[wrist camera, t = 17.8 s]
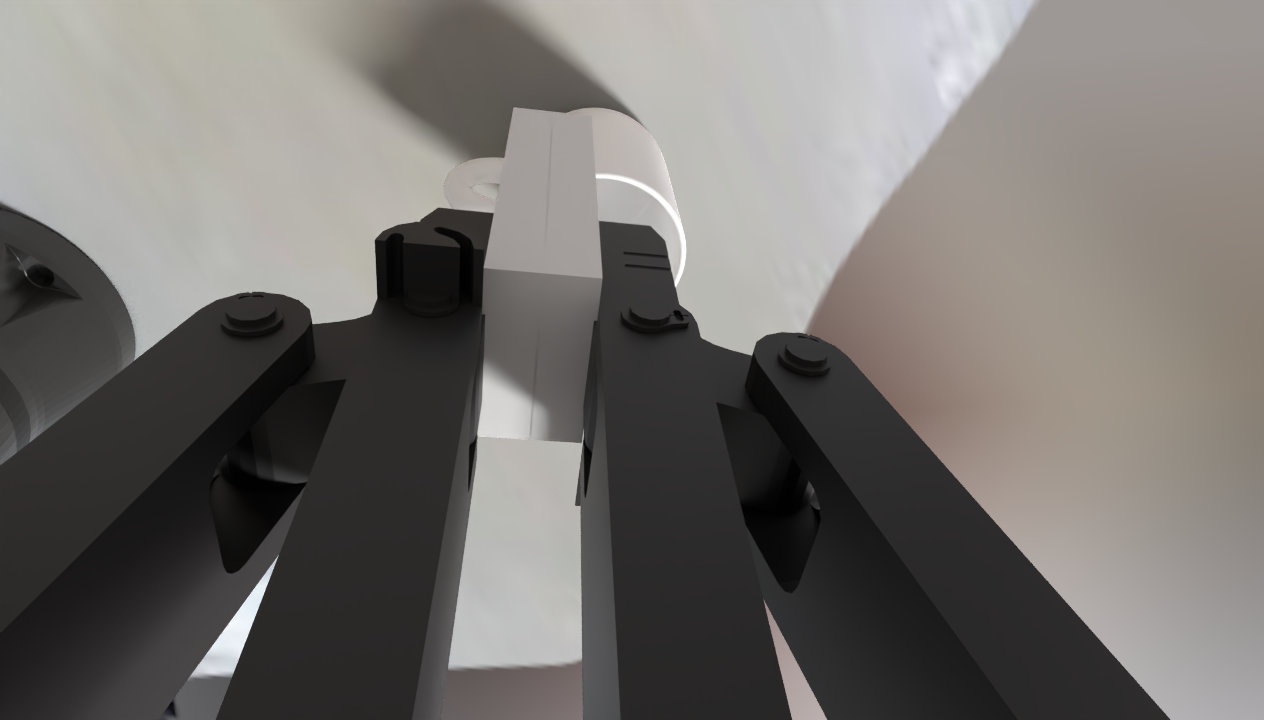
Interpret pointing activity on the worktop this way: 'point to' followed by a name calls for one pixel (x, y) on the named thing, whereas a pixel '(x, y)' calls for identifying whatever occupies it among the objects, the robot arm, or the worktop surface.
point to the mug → (601, 181)
